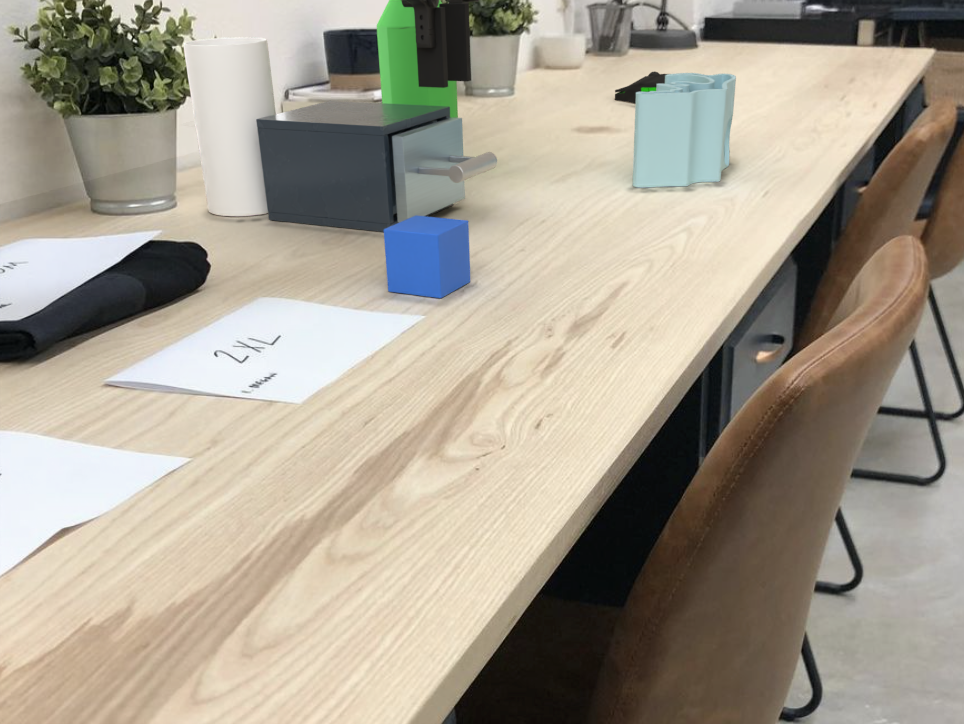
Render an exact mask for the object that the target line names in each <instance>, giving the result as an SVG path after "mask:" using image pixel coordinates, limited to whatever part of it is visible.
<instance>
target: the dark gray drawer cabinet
mask: <svg viewBox="0 0 964 724" xmlns="http://www.w3.org/2000/svg"><path fill="white" fill-rule="evenodd" d="M448 118H450V107H449V106H428V105H407V104H387V103H382V102H366V101H365V102H364V101H363V102H362V101H345V100H344V101H343V100H342V101H341V100H328V101H324V102H320V103H315V104H311V105H308V106H307V105H306V106H304V107H299V108H296V109H291V110H288V111H284V112H283V111H282V112H280V113H276V114H275V115H271V116H267V117H263V118H259V119H256V122H257V129H258V137H259V145H260V153H261V161H262V169H263V177H264V185H265V193H266V201H267V209H268V213H267V216H268V220H269V221H274V222H275V221H276V222H284V223H285V222H286V223H293V224H294V223H295V224H302V225H303V224H305V225H312V226H324V227H333V228H341V229H342V228H343V229H352V230H361V231H369V232H370V231H371V232H381V233H384V229H386V228H388V227H390V226H393V225H395V224H397V223H400V222H398V221H397V213H396V214H393V203H392V189H391V174H390V160H389V146H388V135H387V134H390V133H393V132H397V131H400V130H403V129H406V128H410V127H413V126H416V125H419V124H422V123H426V122H429V121H432V120H437V122H439V121H442V120H445V119H448ZM454 205H455V203H453V204H451V205H449V206H446V207H444V208H442V209H440V210H437V211H435V212H433V213H430V214H428V215H426V217H430V216H432V215H434V214H436V213H438V212H441V211H443V210H446V209H448V208H450V207H452V206H454Z"/></svg>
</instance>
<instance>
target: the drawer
mask: <svg viewBox="0 0 964 724" xmlns="http://www.w3.org/2000/svg"><path fill="white" fill-rule="evenodd" d="M463 131H464V130H463V118H462V117H458V118H455V117H452V118H448V119H445V120H442V121H439V122H437V120H432V121H429V122H426V123H422V124H419V125H416V126H413V127H410V128H406V129H403V130H400V131H397V132H393V133H390V134H387V135H388V146H389V160H390V174H391V189H392V203H393V214H396V213H397V221H398V222H402V221H404V220H407V219H409V218H411V217H414V216H426V215H428V214H430V213H433V212H435V211H437V210H440V209H442V208H444V207H446V206H449V205H451V204H453V203H454V204H455V203H458V202H460V201H464V200H465V199H466V187H465V181H466V180H468V179H472V178H473V177H476V176H479V175H481V174H484V173H486V172H488V171H491V170H493V169H495V168H496V167H497V164H498V157H497V156H496V154H495V153H494V152H491V151H487V152H485V153H482V154H479V155H477V156H470V155H467V156H466V155H464V133H463Z"/></svg>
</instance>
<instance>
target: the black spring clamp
mask: <svg viewBox="0 0 964 724" xmlns="http://www.w3.org/2000/svg"><path fill="white" fill-rule="evenodd" d="M667 74H668V73H660V72H658V71H651V72H650V73H649V74H648V75H645V76H643V77H641V78H639V79H638V80H636V81H634V82H632V83H631V84H629V85H627V86H624V87H620V88H618V89H614V100H615V101H619V102H626V103H631V104H635V103H636V92H650V91H656V86H657V84H665V75H667Z"/></svg>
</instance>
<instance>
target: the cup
mask: <svg viewBox="0 0 964 724" xmlns="http://www.w3.org/2000/svg"><path fill="white" fill-rule="evenodd" d="M183 52H184V59H185V65H186V66H185V67H186V72H187V81H188V87H189V93H190V99H191V107H192V112H193V119H194V125H195V132H196V139H197V145H198V152H199V159H200V165H201V166H200V167H201V171H202V172H201V173H202V178H203V179H202V180H203V185H204V193H205V198H206V205H207V211H208V212H209V213H210V214H212V215H217V216H220V217H221V216H222V217H251V216H252V217H253V216H259V215H266V214H267V215H268V209H267V201H266V193H265V185H264V177H263V169H262V161H261V153H260V145H259V137H258V129H257V122H256V119H259V118H263V117H267V116H271V115H275V114H277V113H276V103H275V102H276V101H275V96H274V87H273V78H272V69H271V61H270V51H269V43H268V39H267V38H264V37H256V36H255V37H253V36H251V37H250V36H236V37H235V36H233V37H231V36H230V37H215V38H214V37H213V38H204V39H203V38H201V39H196V40H194V39H193V40H188V41H185V42H183Z"/></svg>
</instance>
